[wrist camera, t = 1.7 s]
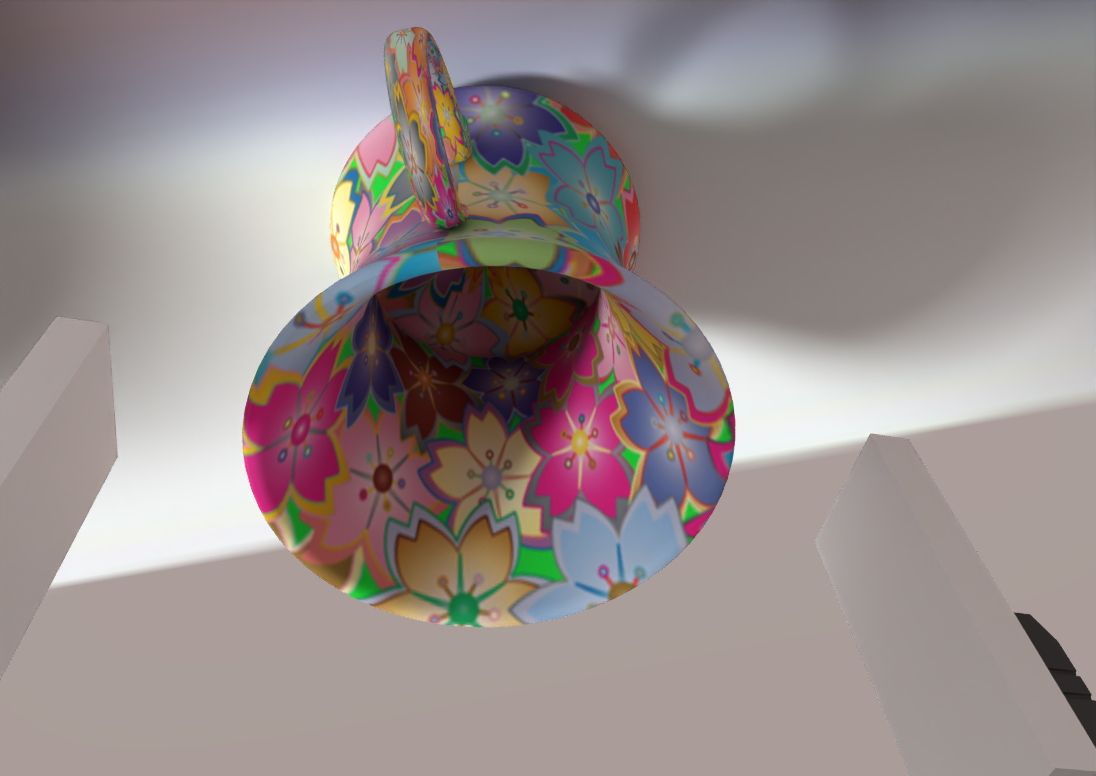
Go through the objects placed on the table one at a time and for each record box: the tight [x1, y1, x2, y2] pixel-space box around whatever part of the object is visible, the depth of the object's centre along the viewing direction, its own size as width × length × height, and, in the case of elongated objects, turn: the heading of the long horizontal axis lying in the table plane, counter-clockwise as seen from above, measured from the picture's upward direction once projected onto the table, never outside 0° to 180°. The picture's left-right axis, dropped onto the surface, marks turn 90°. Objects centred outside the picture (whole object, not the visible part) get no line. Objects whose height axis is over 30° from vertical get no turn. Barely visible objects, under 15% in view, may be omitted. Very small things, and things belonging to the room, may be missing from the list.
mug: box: [242, 27, 735, 627], centre depth 21 cm, size 12×9×11 cm
